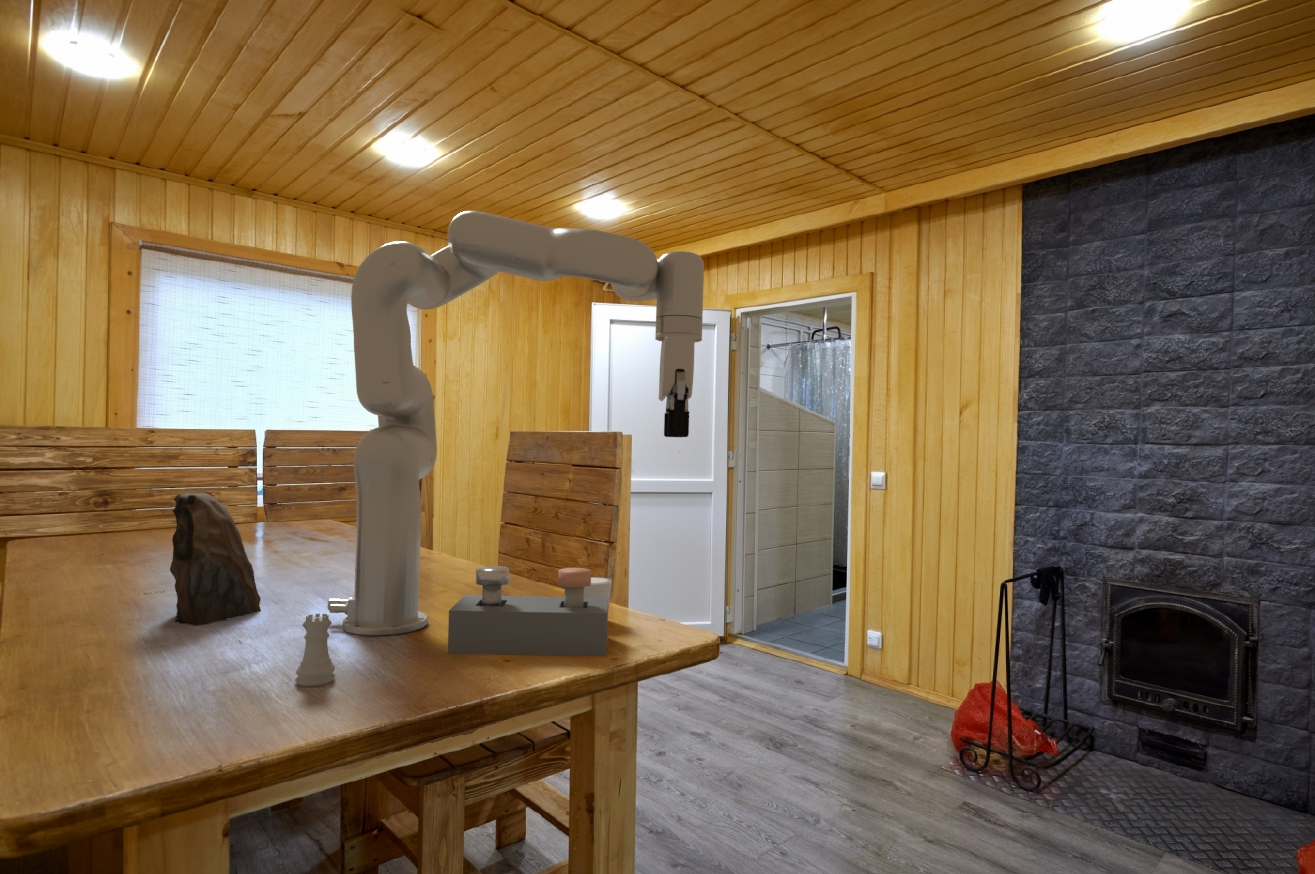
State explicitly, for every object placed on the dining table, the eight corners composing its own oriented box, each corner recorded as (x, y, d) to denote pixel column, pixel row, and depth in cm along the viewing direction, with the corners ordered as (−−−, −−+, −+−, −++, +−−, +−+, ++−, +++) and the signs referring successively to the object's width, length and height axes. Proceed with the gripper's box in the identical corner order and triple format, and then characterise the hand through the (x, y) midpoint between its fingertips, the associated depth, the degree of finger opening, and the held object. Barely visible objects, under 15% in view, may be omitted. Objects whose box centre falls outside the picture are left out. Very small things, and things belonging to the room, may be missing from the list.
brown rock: (193, 628, 108) (197, 496, 108) (135, 619, 113) (139, 492, 113) (264, 610, 120) (268, 491, 120) (210, 602, 125) (214, 488, 125)
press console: (447, 653, 100) (448, 610, 100) (463, 634, 110) (464, 594, 110) (605, 655, 101) (607, 613, 101) (607, 636, 111) (608, 597, 111)
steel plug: (471, 623, 102) (472, 571, 102) (477, 615, 107) (479, 565, 107) (505, 624, 103) (506, 572, 103) (510, 616, 107) (511, 566, 107)
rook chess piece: (308, 690, 84) (311, 622, 84) (287, 682, 86) (289, 616, 86) (343, 680, 88) (345, 615, 88) (321, 673, 90) (323, 609, 90)
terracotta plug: (555, 625, 103) (557, 573, 103) (558, 617, 108) (559, 567, 108) (588, 625, 103) (590, 573, 103) (590, 617, 108) (591, 568, 108)
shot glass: (614, 617, 123) (615, 576, 123) (607, 627, 116) (608, 584, 116) (574, 615, 123) (575, 574, 123) (565, 625, 116) (566, 582, 116)
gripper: (653, 337, 124) (650, 436, 124) (658, 321, 107) (654, 436, 106) (696, 339, 124) (693, 437, 124) (708, 323, 107) (705, 437, 107)
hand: (675, 436), depth 115 cm, fingers open, 9 cm apart
